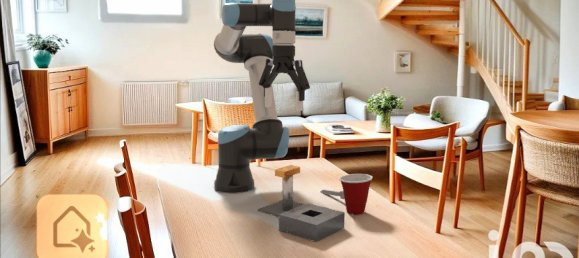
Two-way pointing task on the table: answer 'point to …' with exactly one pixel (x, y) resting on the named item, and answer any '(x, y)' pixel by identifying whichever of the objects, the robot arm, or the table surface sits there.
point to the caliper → (333, 193)
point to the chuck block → (311, 222)
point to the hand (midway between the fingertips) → (283, 108)
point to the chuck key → (287, 184)
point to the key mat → (277, 208)
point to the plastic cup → (355, 192)
